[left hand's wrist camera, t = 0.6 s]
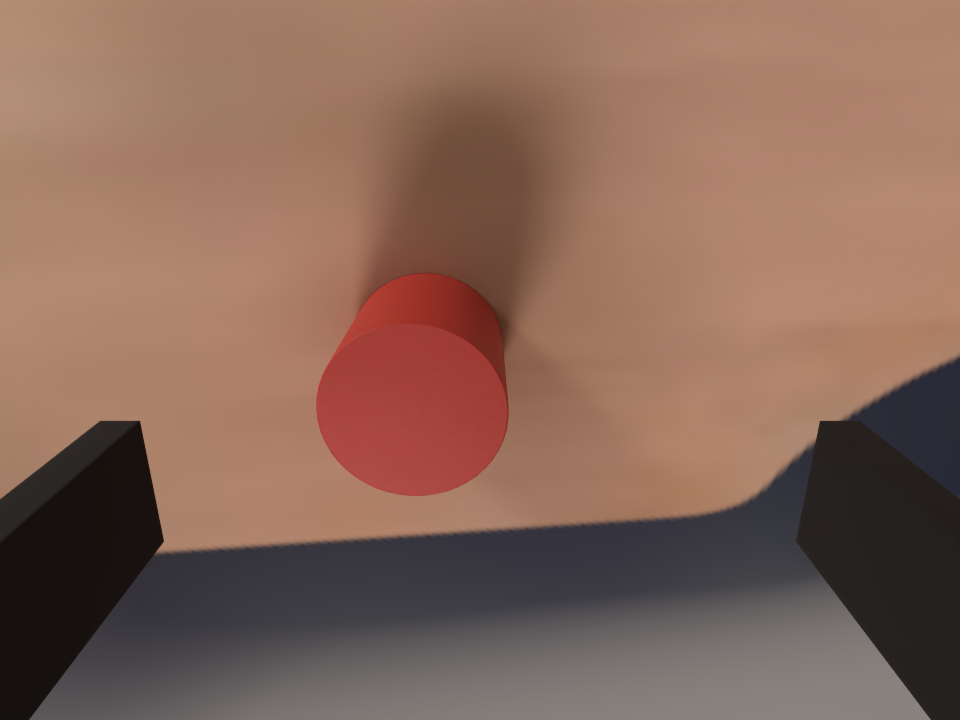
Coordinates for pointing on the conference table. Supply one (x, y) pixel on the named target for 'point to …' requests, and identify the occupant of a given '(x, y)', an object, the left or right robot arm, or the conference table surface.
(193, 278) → the conference table surface
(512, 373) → the conference table surface
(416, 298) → the canister
